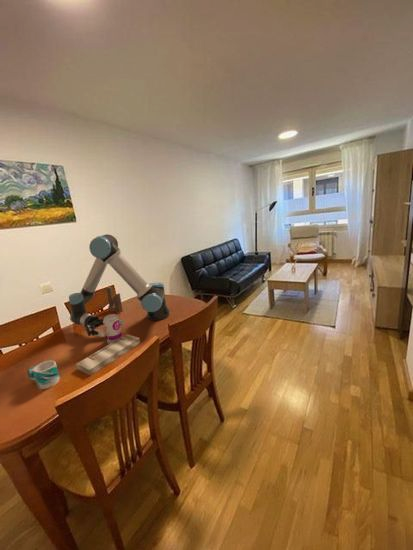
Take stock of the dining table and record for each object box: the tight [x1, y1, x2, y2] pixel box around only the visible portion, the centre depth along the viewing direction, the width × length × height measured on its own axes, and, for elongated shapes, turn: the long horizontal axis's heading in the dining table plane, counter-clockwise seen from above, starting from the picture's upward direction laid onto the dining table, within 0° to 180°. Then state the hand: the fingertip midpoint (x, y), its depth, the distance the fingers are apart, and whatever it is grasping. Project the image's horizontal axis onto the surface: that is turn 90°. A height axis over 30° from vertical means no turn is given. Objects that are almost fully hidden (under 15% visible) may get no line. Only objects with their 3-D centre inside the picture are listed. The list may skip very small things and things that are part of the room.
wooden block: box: [105, 286, 124, 314], centre depth 175 cm, size 4×11×18 cm, turn 62°
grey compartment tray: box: [75, 334, 141, 376], centre depth 122 cm, size 30×10×3 cm, turn 149°
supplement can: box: [103, 313, 123, 345], centre depth 133 cm, size 8×8×15 cm
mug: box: [26, 359, 61, 390], centre depth 104 cm, size 8×12×8 cm
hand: (113, 328), depth 132 cm, fingers open, 13 cm apart
